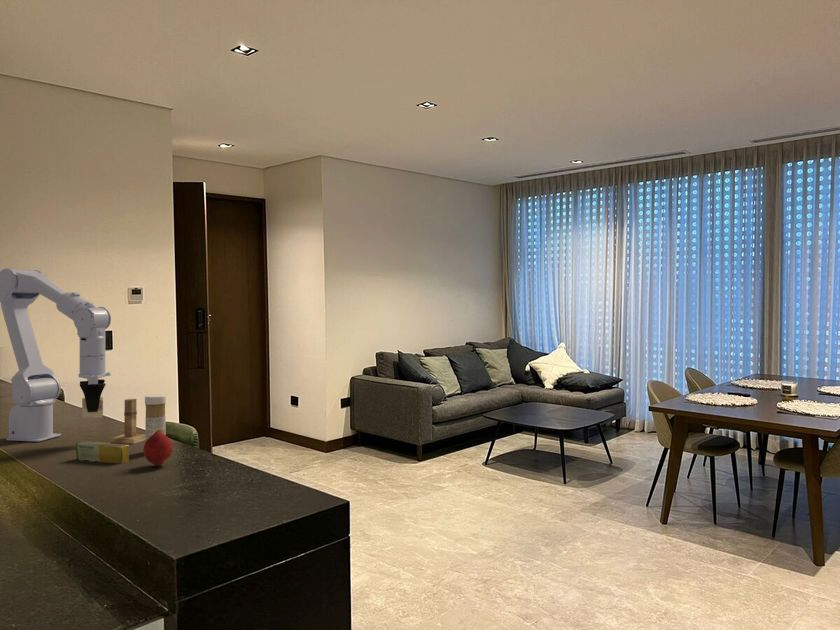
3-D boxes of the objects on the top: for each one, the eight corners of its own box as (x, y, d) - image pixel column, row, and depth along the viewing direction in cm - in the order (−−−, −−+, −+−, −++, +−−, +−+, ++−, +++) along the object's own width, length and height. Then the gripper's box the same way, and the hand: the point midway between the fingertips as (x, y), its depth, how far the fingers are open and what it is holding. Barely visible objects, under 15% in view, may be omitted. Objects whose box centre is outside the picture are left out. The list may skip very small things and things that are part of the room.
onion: (161, 470, 132) (162, 432, 132) (137, 468, 133) (137, 431, 133) (178, 463, 138) (178, 427, 138) (154, 462, 139) (154, 426, 139)
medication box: (75, 461, 140) (74, 443, 140) (84, 458, 143) (83, 440, 143) (121, 464, 137) (121, 446, 137) (130, 461, 140) (130, 443, 140)
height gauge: (112, 442, 158) (112, 400, 158) (126, 437, 164) (126, 397, 164) (134, 443, 157) (134, 401, 157) (148, 438, 163) (148, 398, 163)
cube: (82, 416, 157) (82, 398, 157) (102, 414, 159) (102, 397, 159) (82, 419, 153) (82, 400, 153) (102, 417, 155) (102, 399, 155)
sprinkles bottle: (162, 448, 152) (162, 393, 152) (168, 452, 148) (168, 395, 148) (142, 451, 149) (142, 394, 149) (148, 455, 145) (148, 397, 145)
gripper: (111, 357, 152) (111, 413, 152) (109, 353, 164) (109, 405, 165) (78, 358, 148) (78, 415, 148) (78, 354, 161) (78, 406, 161)
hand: (92, 410), depth 156 cm, fingers closed on cube, 4 cm apart
